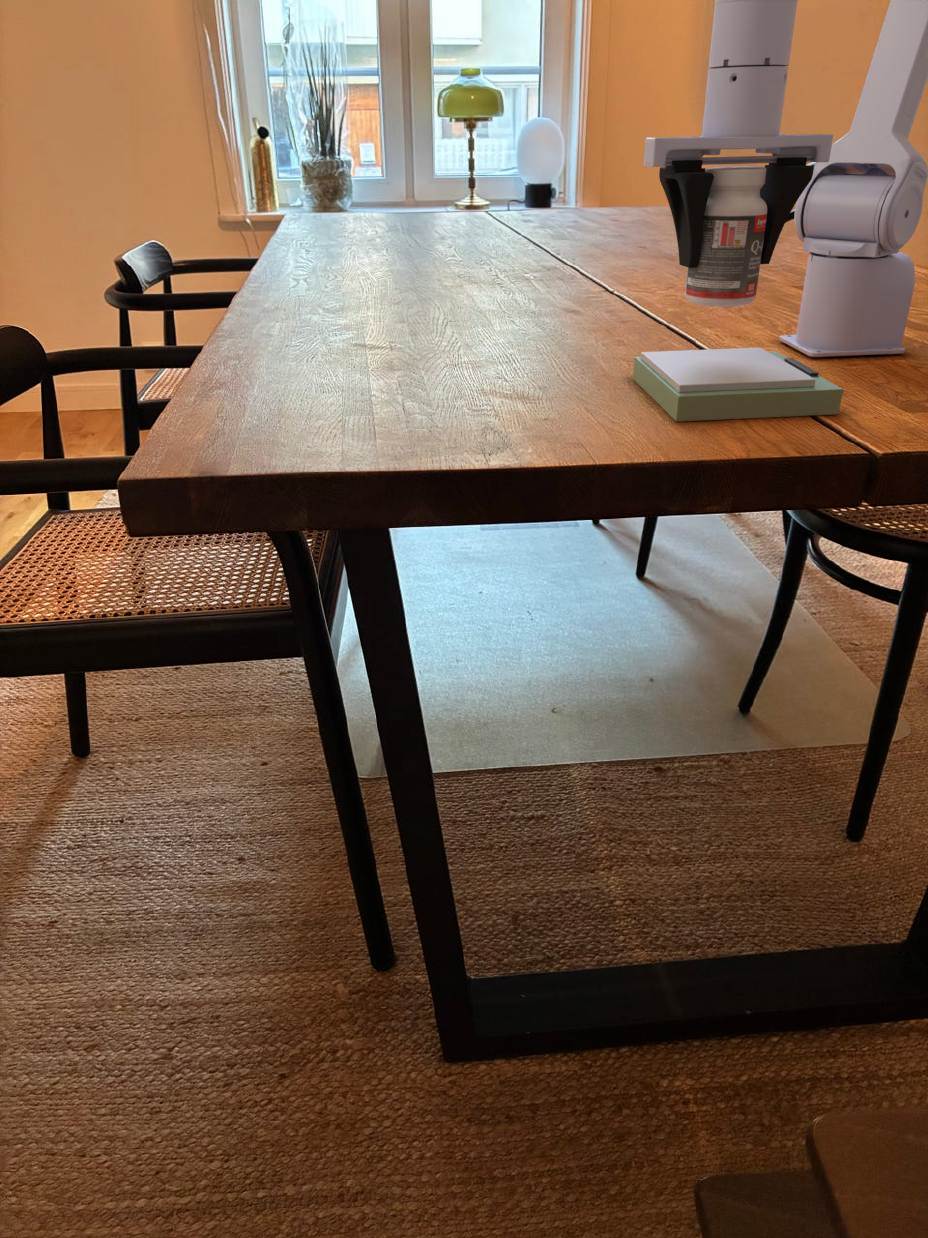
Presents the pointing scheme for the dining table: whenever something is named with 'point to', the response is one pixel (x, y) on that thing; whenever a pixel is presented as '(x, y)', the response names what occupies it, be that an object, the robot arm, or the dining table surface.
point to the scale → (734, 384)
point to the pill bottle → (730, 239)
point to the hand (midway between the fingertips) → (724, 264)
